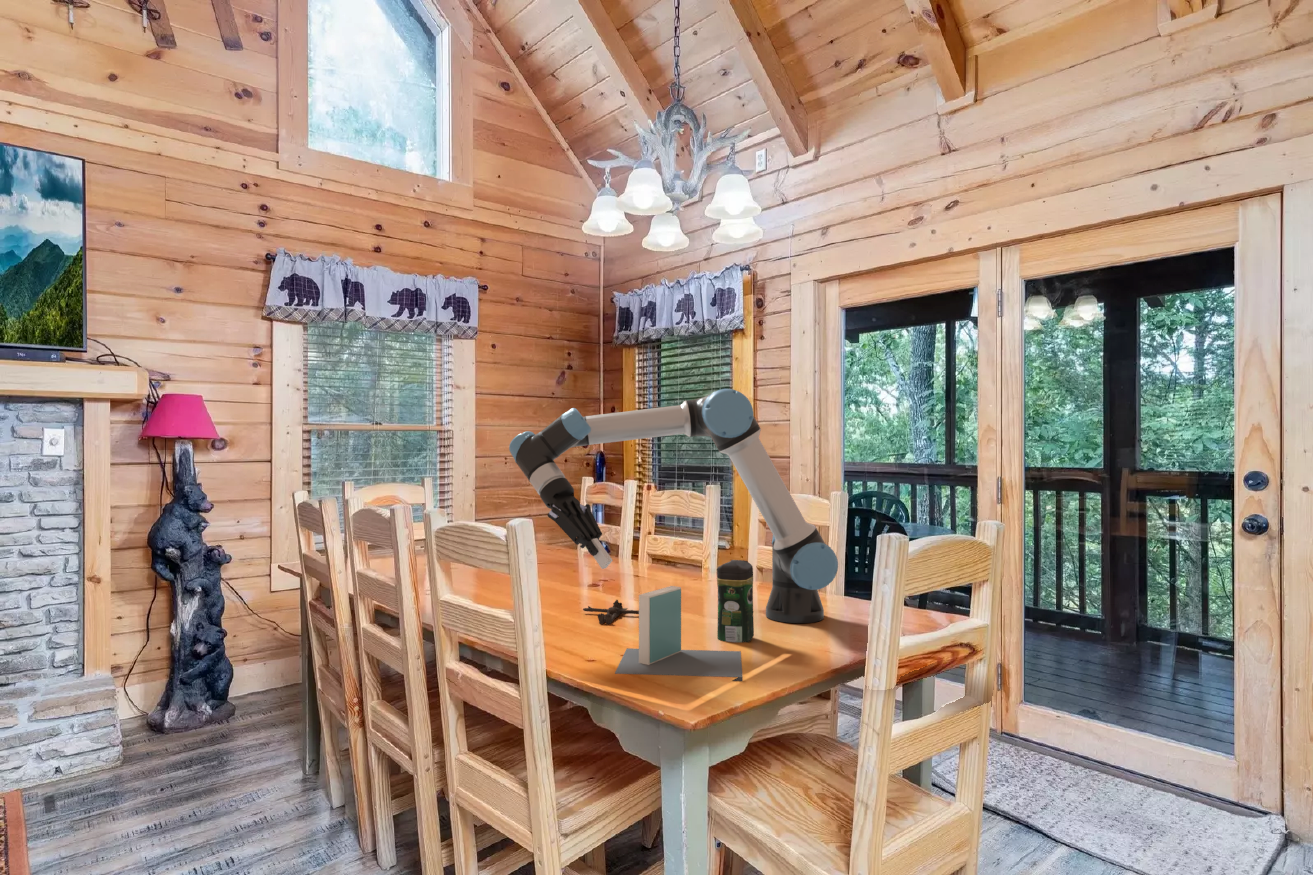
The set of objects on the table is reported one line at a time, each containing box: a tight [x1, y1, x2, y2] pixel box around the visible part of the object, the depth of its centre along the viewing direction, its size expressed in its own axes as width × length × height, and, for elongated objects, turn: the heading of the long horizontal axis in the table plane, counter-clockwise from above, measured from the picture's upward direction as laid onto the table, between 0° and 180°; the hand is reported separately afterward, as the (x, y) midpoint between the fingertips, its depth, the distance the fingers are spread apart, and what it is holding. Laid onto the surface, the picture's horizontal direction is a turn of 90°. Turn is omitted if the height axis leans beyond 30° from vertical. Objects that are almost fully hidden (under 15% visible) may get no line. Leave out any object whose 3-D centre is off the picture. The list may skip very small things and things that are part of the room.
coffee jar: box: [716, 559, 755, 644], centre depth 175 cm, size 10×8×19 cm
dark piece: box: [582, 599, 639, 625], centre depth 197 cm, size 18×4×14 cm
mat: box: [614, 647, 744, 682], centre depth 155 cm, size 25×18×1 cm
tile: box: [638, 585, 682, 665], centre depth 158 cm, size 3×12×14 cm, turn 145°
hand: (607, 564), depth 166 cm, fingers closed
